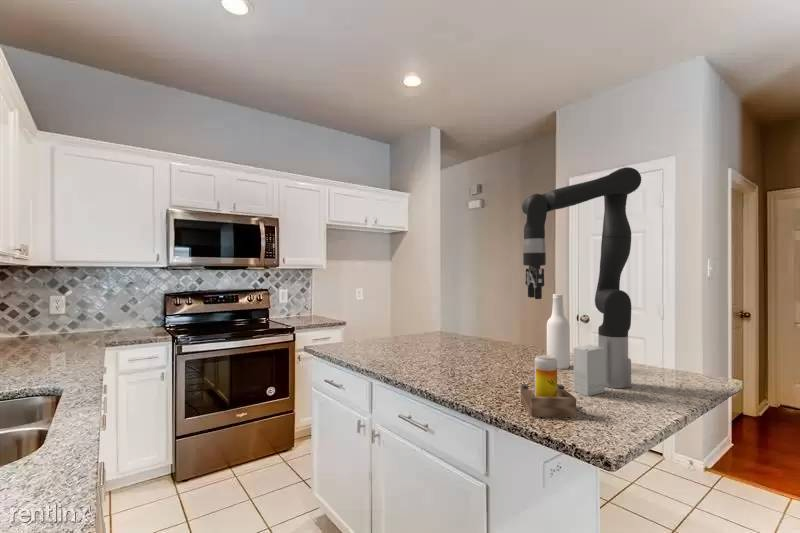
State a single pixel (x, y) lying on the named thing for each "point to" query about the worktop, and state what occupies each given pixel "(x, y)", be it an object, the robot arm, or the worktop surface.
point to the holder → (549, 403)
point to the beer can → (545, 376)
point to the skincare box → (589, 370)
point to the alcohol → (558, 334)
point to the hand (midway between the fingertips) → (534, 298)
